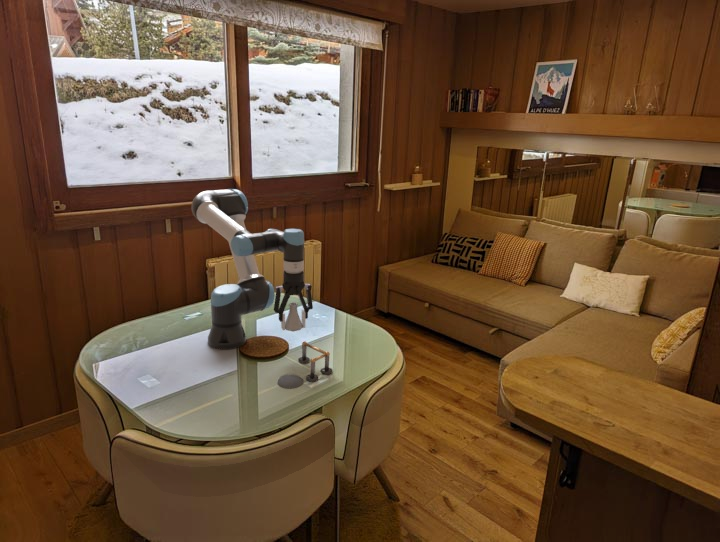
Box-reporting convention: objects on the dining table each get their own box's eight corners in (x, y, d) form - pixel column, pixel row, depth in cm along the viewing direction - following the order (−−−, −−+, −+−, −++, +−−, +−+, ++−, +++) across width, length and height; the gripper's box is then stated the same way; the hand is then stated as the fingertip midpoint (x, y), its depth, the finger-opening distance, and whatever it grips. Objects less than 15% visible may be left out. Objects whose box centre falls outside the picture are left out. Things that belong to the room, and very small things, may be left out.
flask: (292, 333, 186) (293, 308, 183) (279, 328, 190) (279, 303, 187) (306, 328, 191) (306, 303, 189) (293, 322, 196) (293, 299, 193)
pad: (272, 381, 175) (272, 380, 175) (291, 372, 182) (291, 371, 182) (289, 391, 170) (289, 390, 170) (308, 381, 177) (308, 380, 177)
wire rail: (281, 367, 186) (281, 347, 183) (304, 357, 195) (304, 338, 192) (312, 383, 176) (312, 362, 174) (334, 371, 185) (335, 351, 182)
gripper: (269, 275, 177) (269, 334, 184) (322, 271, 185) (321, 328, 191) (264, 269, 184) (265, 326, 190) (316, 266, 191) (315, 321, 198)
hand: (293, 327), depth 191 cm, fingers closed on flask, 7 cm apart
